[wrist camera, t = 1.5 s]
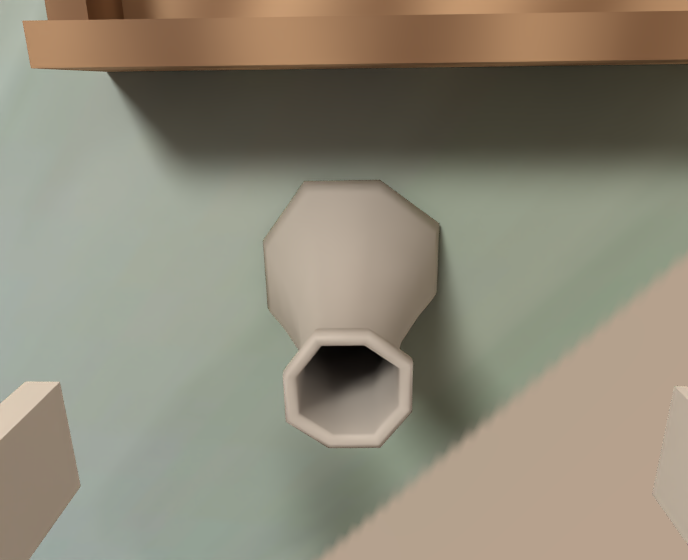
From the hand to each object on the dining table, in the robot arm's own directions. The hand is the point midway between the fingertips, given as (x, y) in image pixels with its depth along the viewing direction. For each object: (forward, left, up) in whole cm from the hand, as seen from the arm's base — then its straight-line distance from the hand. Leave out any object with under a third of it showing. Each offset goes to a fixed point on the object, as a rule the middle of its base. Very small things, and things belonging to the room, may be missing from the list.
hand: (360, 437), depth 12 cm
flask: (0, 0, -11) cm, 11 cm away
